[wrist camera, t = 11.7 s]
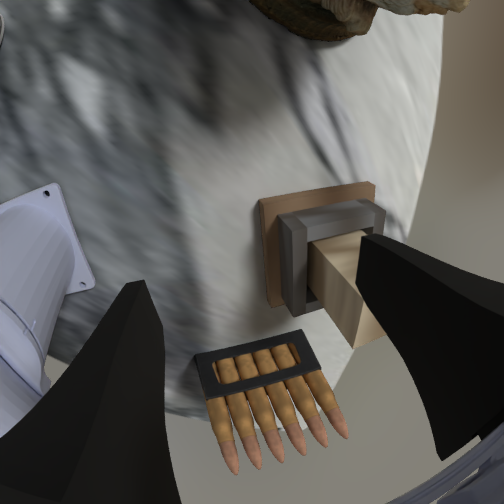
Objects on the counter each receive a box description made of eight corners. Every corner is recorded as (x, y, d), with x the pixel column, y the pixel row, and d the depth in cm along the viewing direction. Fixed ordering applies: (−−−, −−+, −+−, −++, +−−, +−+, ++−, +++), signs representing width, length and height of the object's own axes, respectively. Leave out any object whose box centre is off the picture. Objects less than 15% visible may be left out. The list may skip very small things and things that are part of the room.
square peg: (300, 275, 22) (352, 349, 16) (300, 229, 20) (363, 300, 14) (344, 263, 23) (402, 326, 16) (347, 219, 21) (418, 278, 14)
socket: (267, 300, 24) (282, 328, 21) (258, 199, 19) (277, 220, 16) (358, 273, 26) (379, 295, 23) (367, 181, 21) (396, 197, 18)
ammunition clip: (197, 366, 26) (225, 480, 16) (193, 354, 25) (221, 475, 15) (300, 340, 28) (354, 438, 18) (302, 328, 27) (360, 429, 17)
